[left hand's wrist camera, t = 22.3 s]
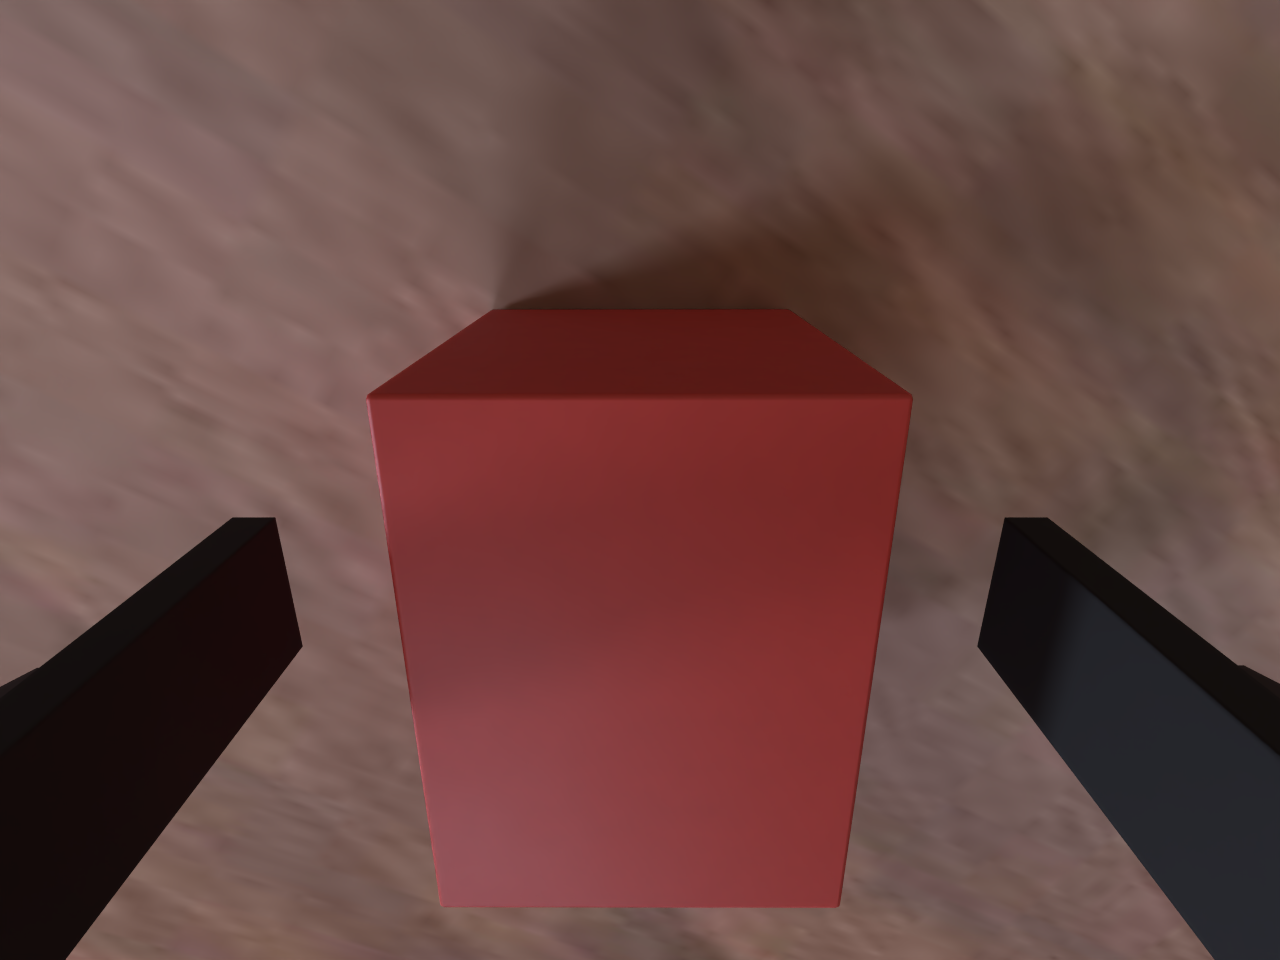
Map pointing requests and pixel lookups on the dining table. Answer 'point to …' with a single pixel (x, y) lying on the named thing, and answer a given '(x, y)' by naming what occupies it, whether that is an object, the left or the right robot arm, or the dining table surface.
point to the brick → (639, 601)
